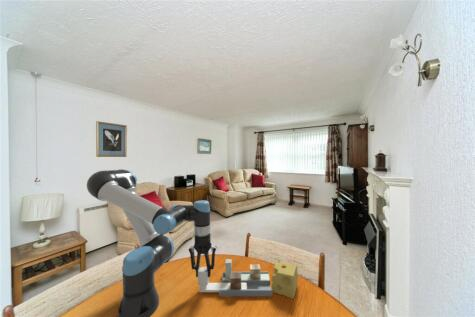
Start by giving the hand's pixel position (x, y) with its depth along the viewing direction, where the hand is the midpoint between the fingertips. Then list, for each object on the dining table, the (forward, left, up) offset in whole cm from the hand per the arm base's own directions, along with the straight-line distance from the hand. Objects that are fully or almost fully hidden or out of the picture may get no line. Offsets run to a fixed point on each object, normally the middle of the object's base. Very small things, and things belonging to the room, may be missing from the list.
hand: (203, 283), depth 85 cm
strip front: (+10, 0, -2) cm, 10 cm away
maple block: (+25, +7, -1) cm, 26 cm away
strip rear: (+21, +7, -2) cm, 22 cm away
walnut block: (+16, 0, -1) cm, 16 cm away
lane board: (+20, +3, -4) cm, 21 cm away
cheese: (+39, +1, -4) cm, 39 cm away
